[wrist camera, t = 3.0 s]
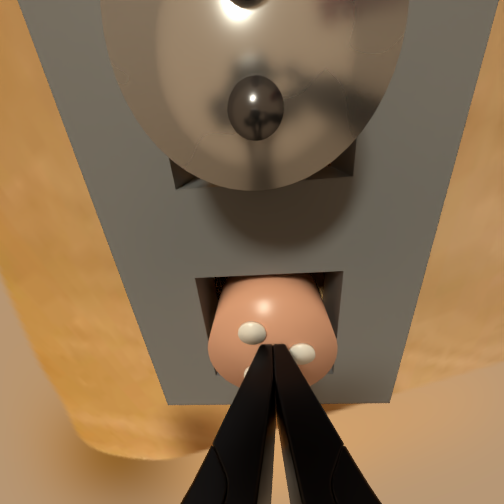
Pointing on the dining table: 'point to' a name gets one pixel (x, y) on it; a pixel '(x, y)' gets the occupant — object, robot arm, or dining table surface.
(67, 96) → the grey flat block
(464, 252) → the dining table surface
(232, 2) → the button two
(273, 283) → the button three
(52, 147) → the dining table surface
